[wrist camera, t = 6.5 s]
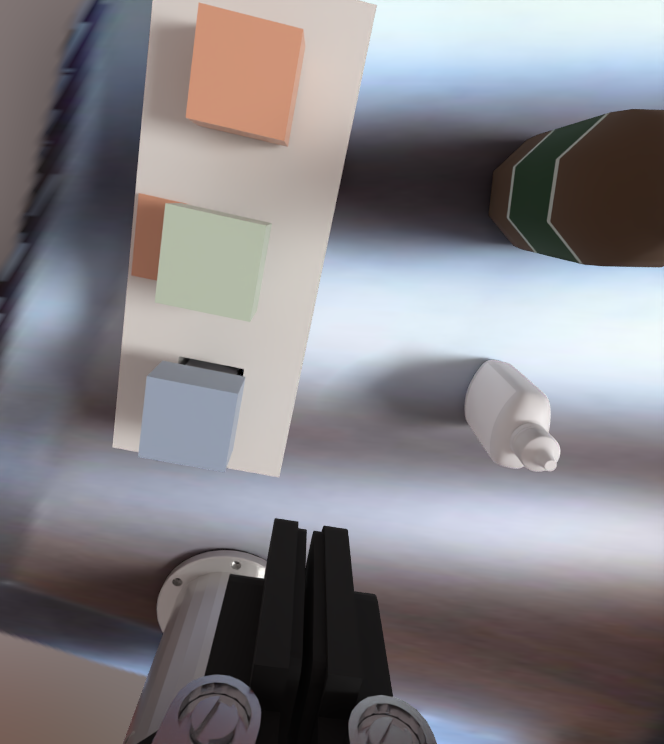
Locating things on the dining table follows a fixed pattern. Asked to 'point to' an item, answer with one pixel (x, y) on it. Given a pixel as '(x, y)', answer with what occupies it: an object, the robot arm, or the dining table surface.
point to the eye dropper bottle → (511, 418)
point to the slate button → (191, 414)
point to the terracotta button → (244, 74)
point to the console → (242, 198)
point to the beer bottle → (587, 191)
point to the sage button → (211, 261)
